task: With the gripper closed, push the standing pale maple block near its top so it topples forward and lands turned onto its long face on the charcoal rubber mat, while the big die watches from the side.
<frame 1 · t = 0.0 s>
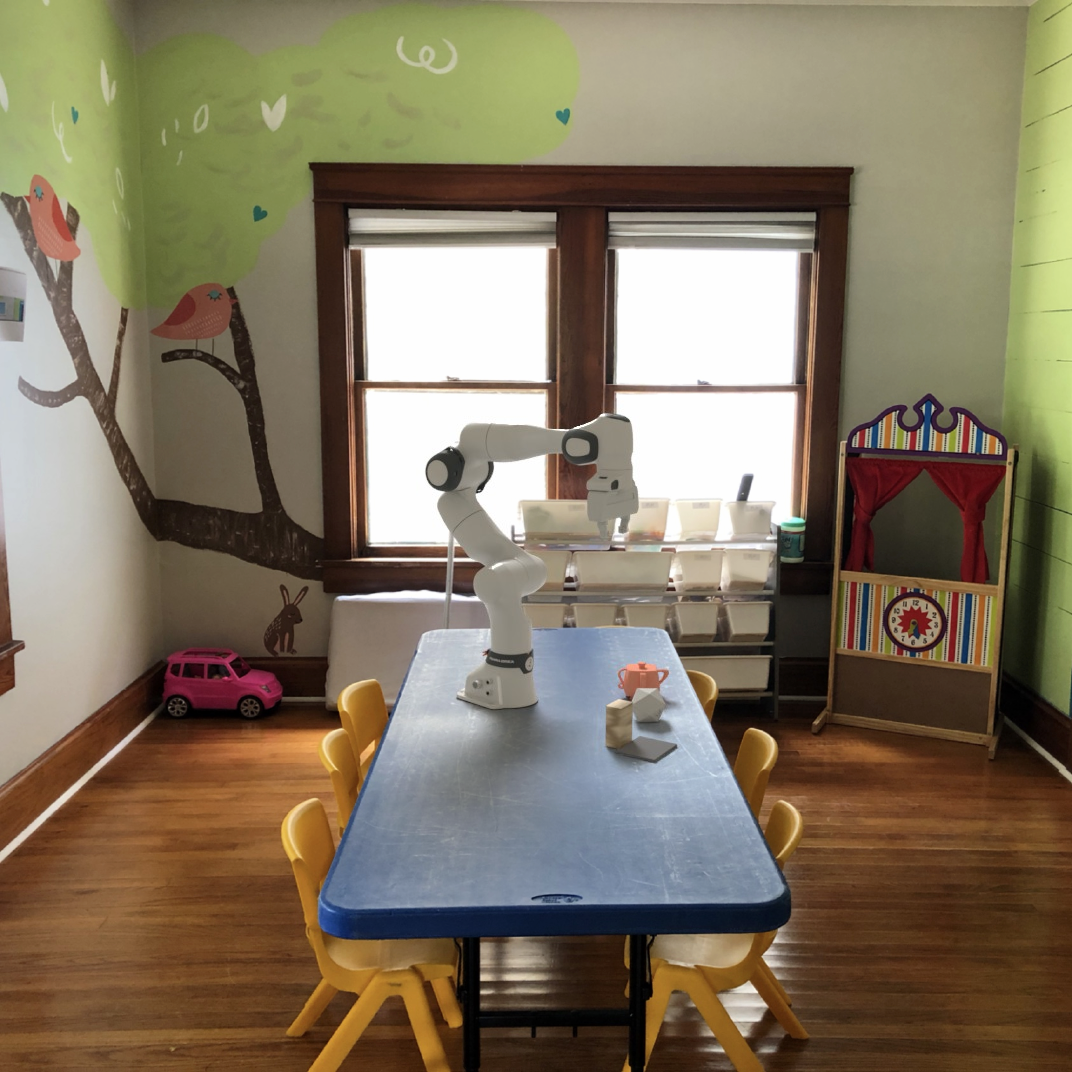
hand: (613, 535, 260), 48 cm above the table, fingers open, 8 cm apart
maple block: (618, 743, 252), on the table
teapot: (642, 696, 288), on the table
rubber mat: (646, 749, 248), on the table
die: (647, 720, 269), on the table
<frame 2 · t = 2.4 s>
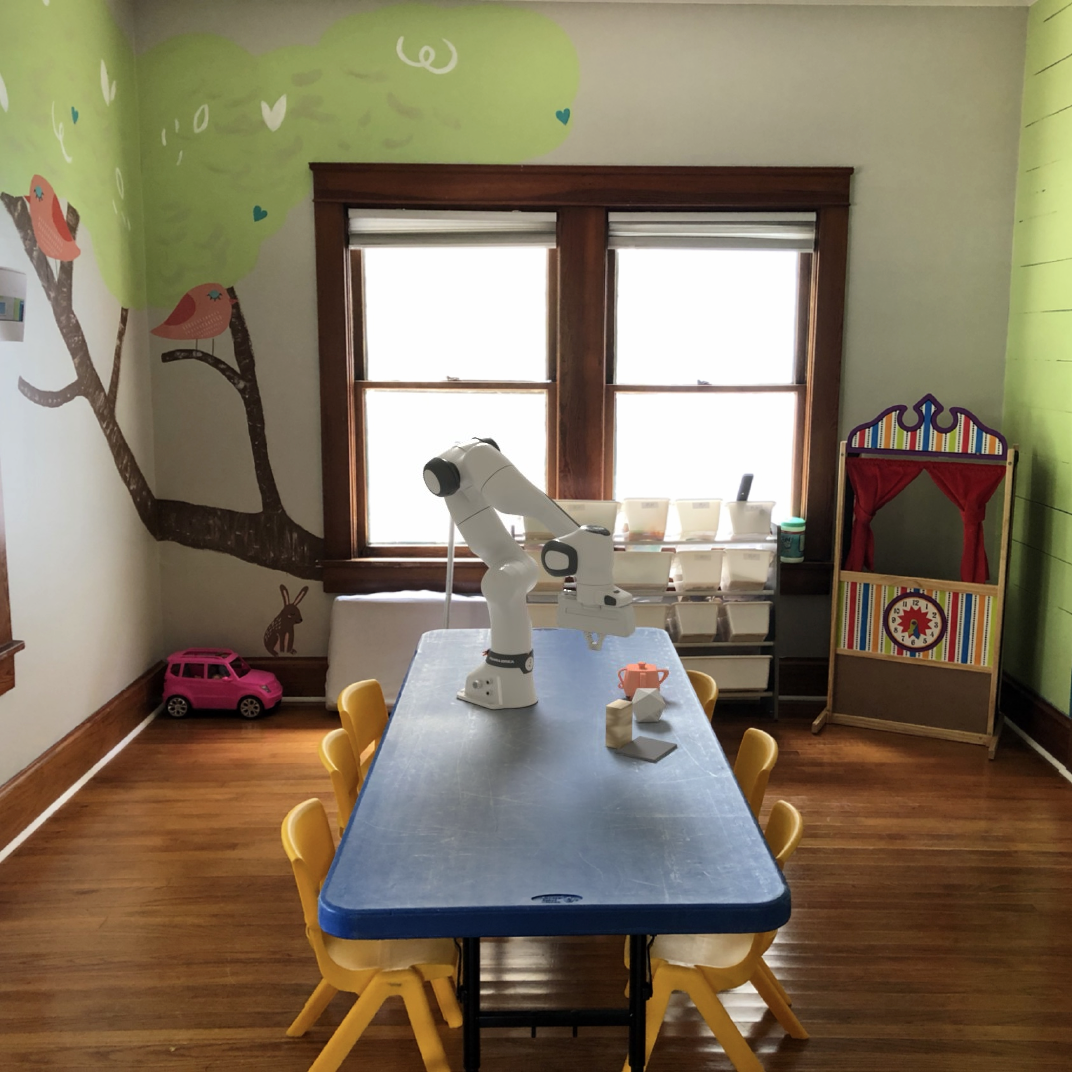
hand: (594, 649, 252), 22 cm above the table, fingers closed
nothing on the table moved.
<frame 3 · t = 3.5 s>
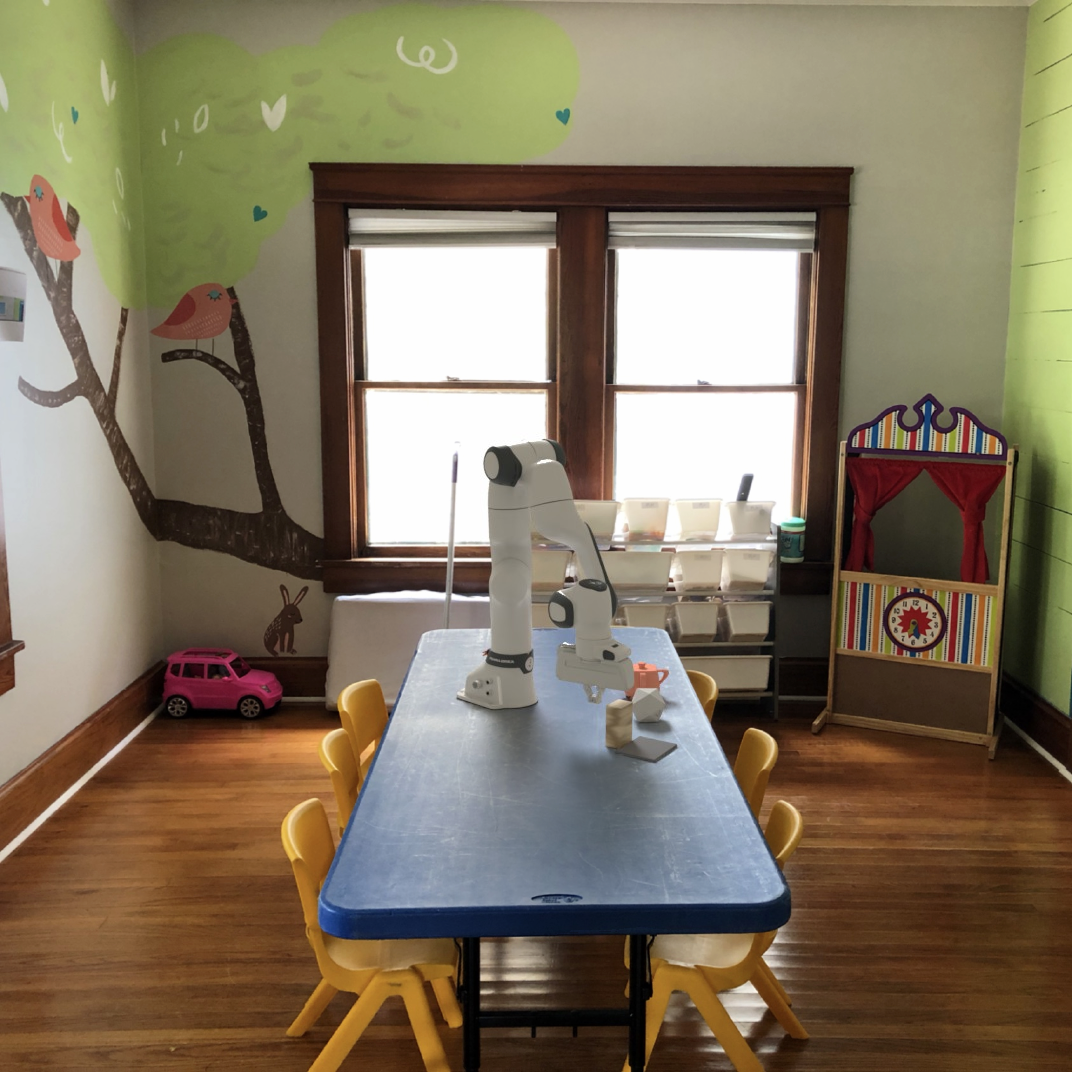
hand: (594, 702, 254), 9 cm above the table, fingers closed
nothing on the table moved.
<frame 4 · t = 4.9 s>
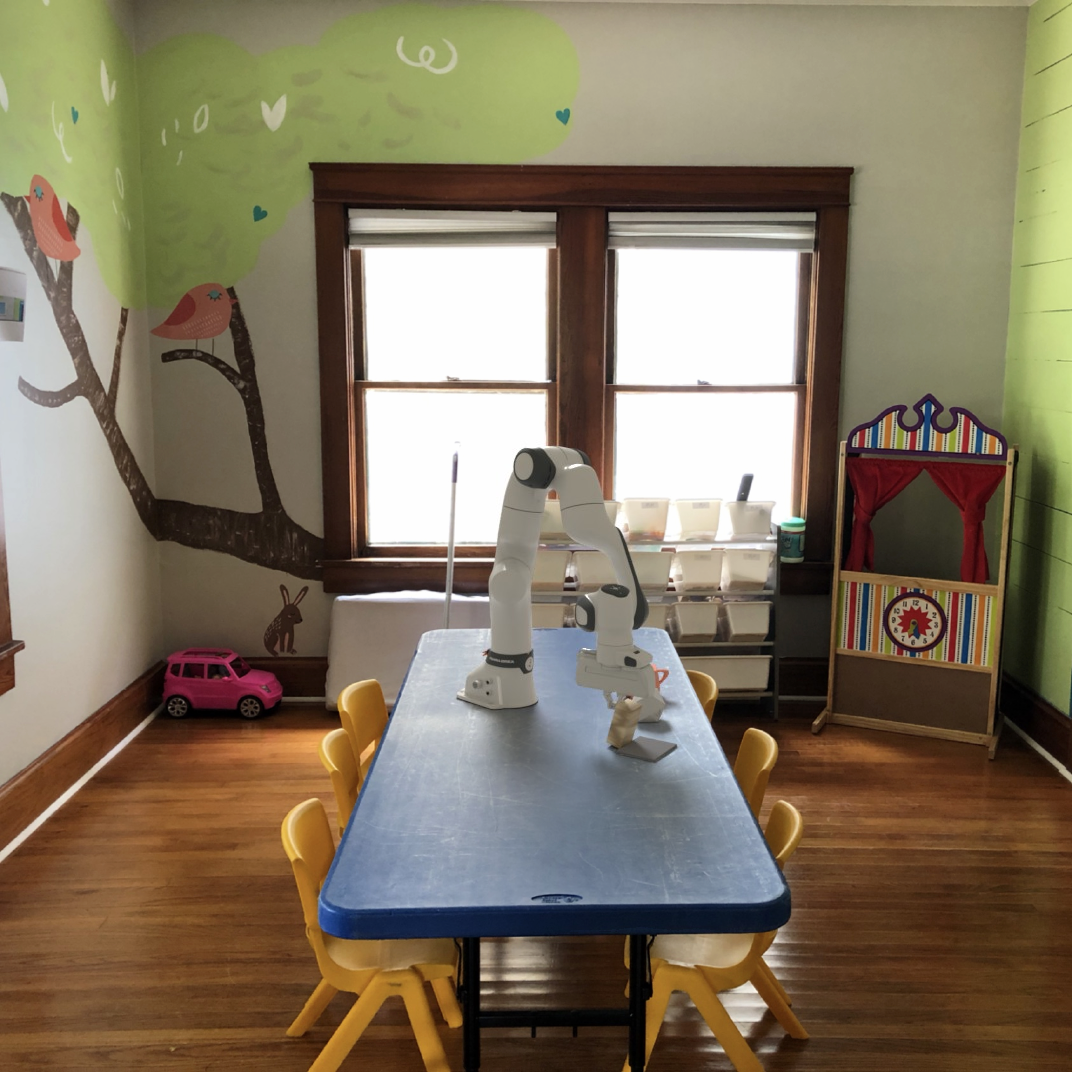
hand: (614, 709, 252), 8 cm above the table, fingers closed
maple block: (619, 741, 252), on the table, tilted 15°
everything else where it was.
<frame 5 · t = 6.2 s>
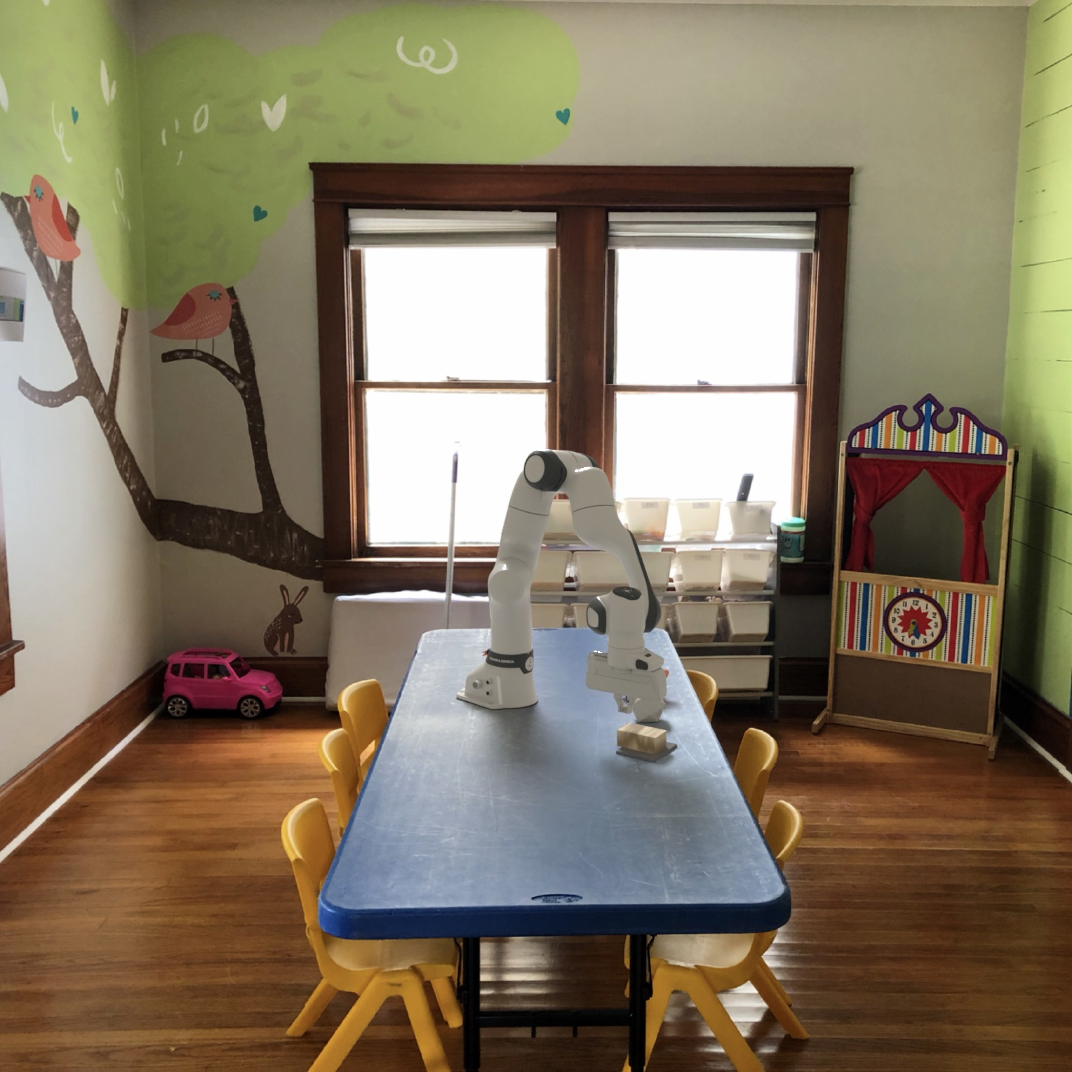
hand: (624, 712, 250), 8 cm above the table, fingers closed
maple block: (623, 734, 251), point 3 cm above the table, tilted 90°, touching rubber mat
everything else where it was.
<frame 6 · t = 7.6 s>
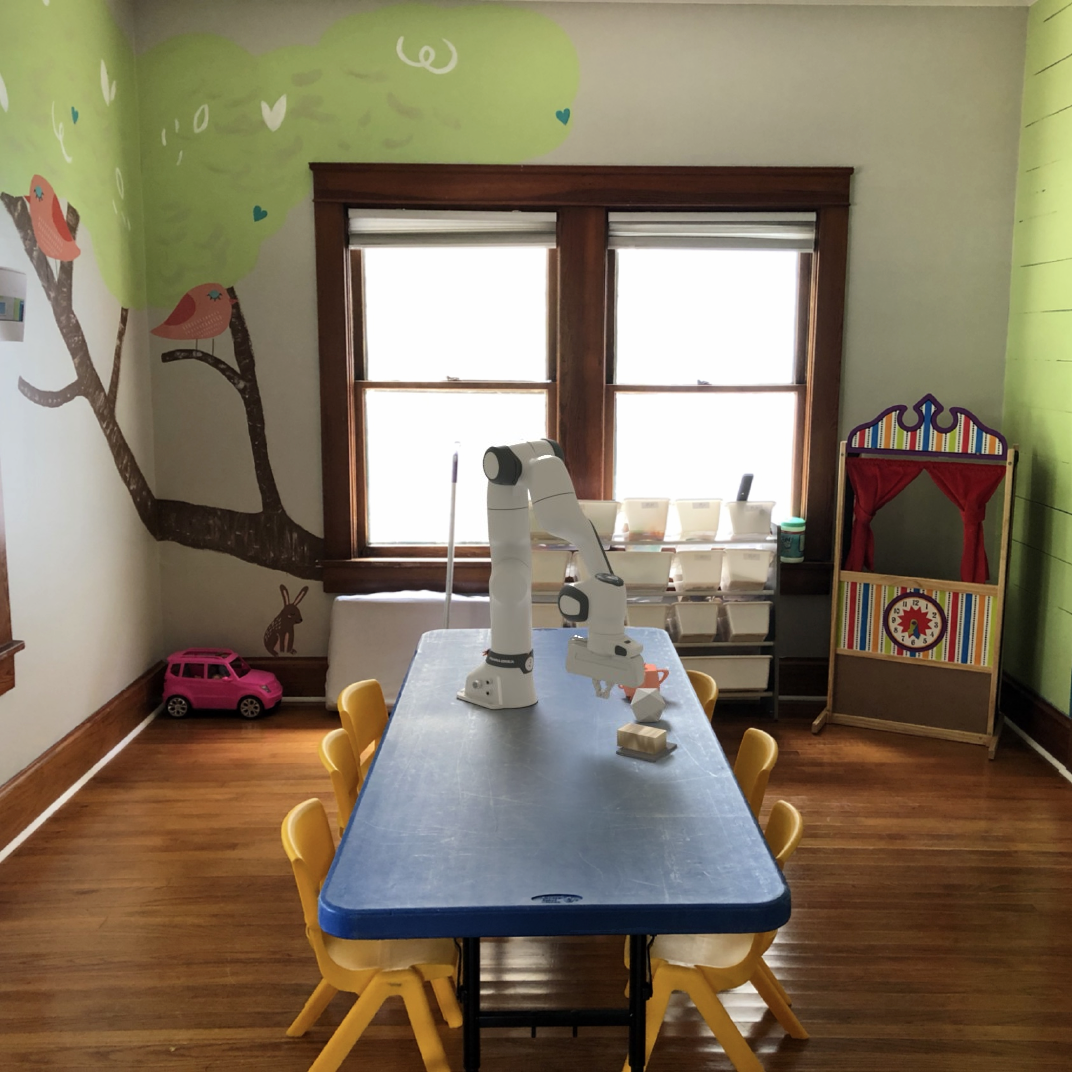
hand: (602, 697, 253), 11 cm above the table, fingers closed
nothing on the table moved.
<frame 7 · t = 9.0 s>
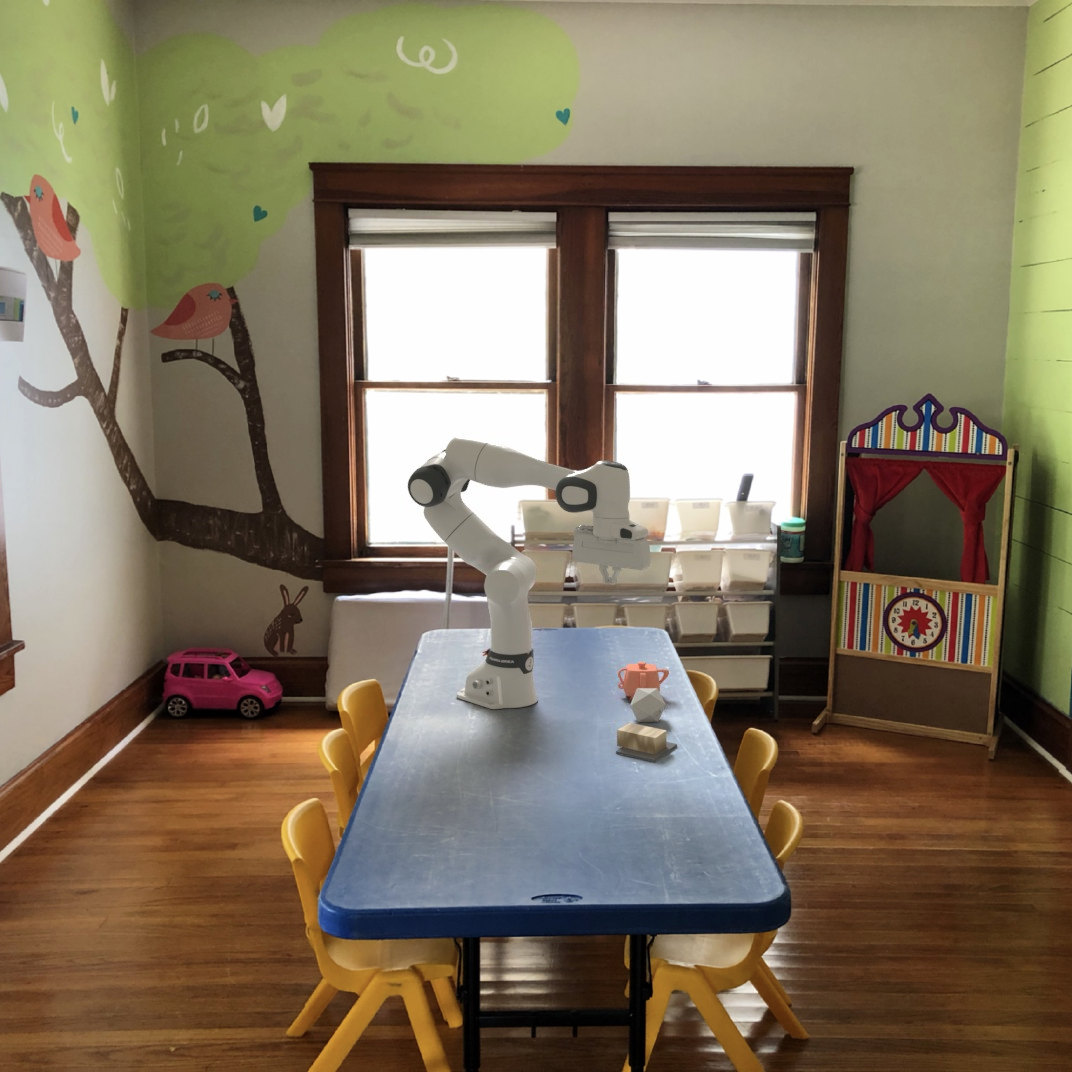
hand: (609, 583, 258), 37 cm above the table, fingers closed
nothing on the table moved.
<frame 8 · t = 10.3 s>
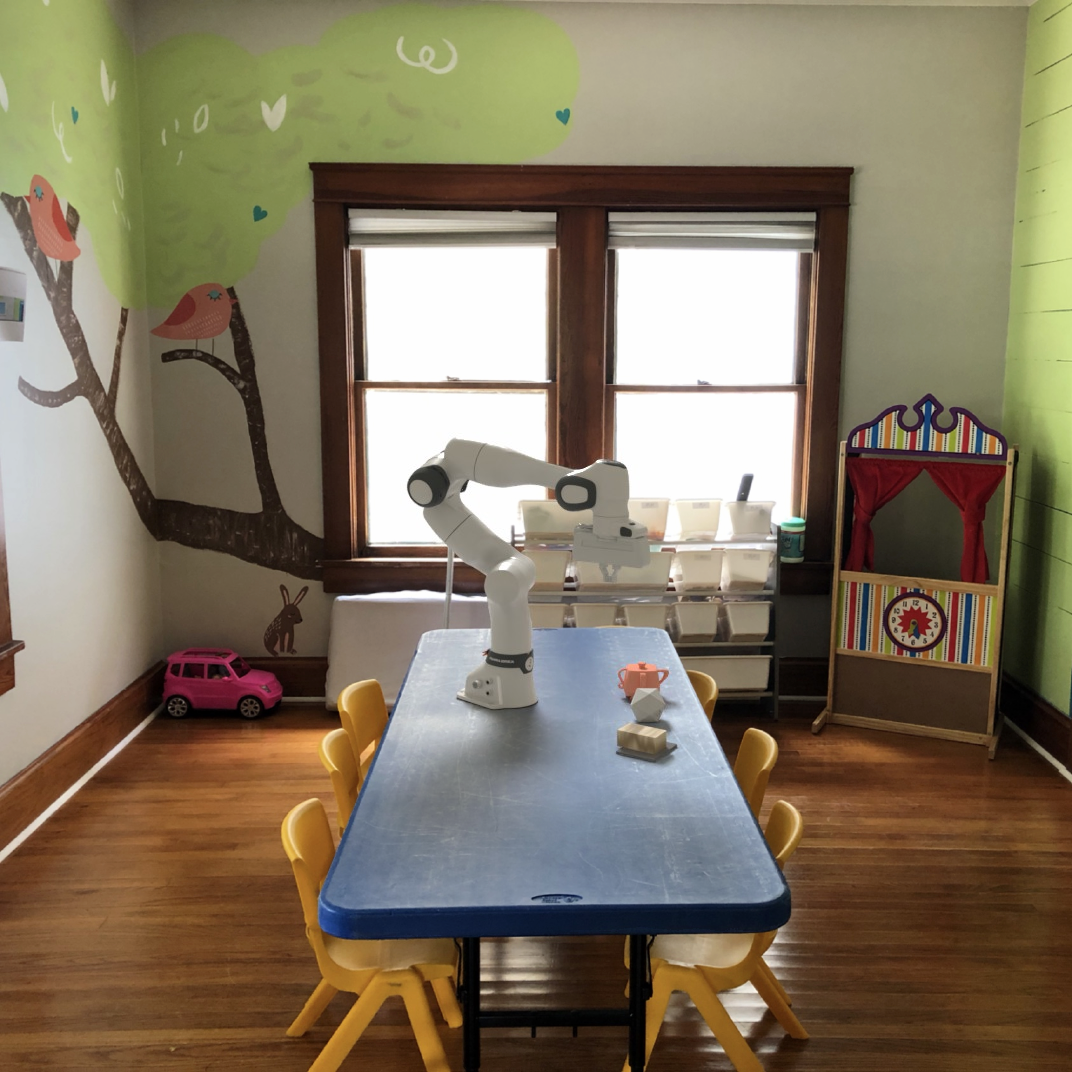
hand: (610, 582, 258), 37 cm above the table, fingers closed
nothing on the table moved.
at the end: maple block tilted 90°; maple block inside the target area (6.9 cm from its centre), point 2.6 cm above the table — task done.
